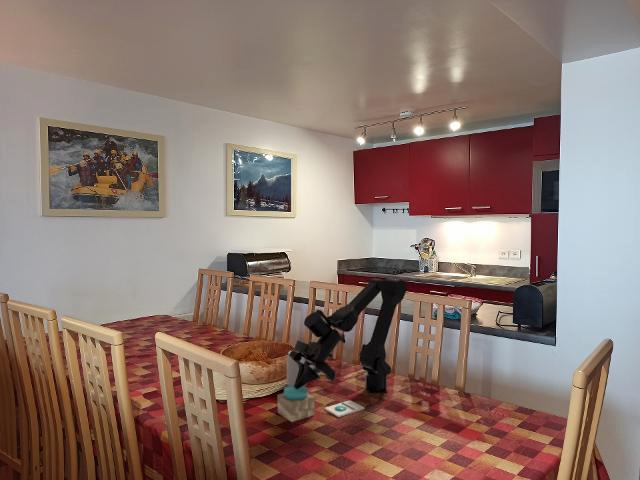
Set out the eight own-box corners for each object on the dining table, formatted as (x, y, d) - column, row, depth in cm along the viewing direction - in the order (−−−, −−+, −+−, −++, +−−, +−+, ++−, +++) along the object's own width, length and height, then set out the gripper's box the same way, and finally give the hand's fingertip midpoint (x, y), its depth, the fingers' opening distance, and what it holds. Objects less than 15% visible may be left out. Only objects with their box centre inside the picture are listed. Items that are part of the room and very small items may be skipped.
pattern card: (349, 401, 147) (349, 399, 147) (364, 409, 141) (364, 406, 141) (324, 409, 141) (324, 407, 141) (338, 417, 135) (338, 415, 135)
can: (282, 387, 160) (282, 353, 160) (293, 380, 167) (293, 347, 166) (301, 390, 157) (300, 356, 156) (311, 383, 163) (311, 350, 163)
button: (299, 398, 143) (299, 383, 142) (311, 405, 137) (311, 389, 137) (279, 403, 139) (279, 388, 138) (292, 411, 133) (291, 395, 133)
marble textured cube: (299, 406, 143) (299, 389, 143) (314, 415, 137) (314, 397, 137) (277, 412, 139) (277, 394, 139) (291, 422, 132) (291, 403, 132)
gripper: (293, 324, 147) (263, 364, 142) (327, 336, 132) (295, 382, 126) (313, 345, 152) (285, 384, 146) (349, 358, 137) (319, 403, 131)
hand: (295, 388), depth 137 cm, fingers closed, pressing on button
